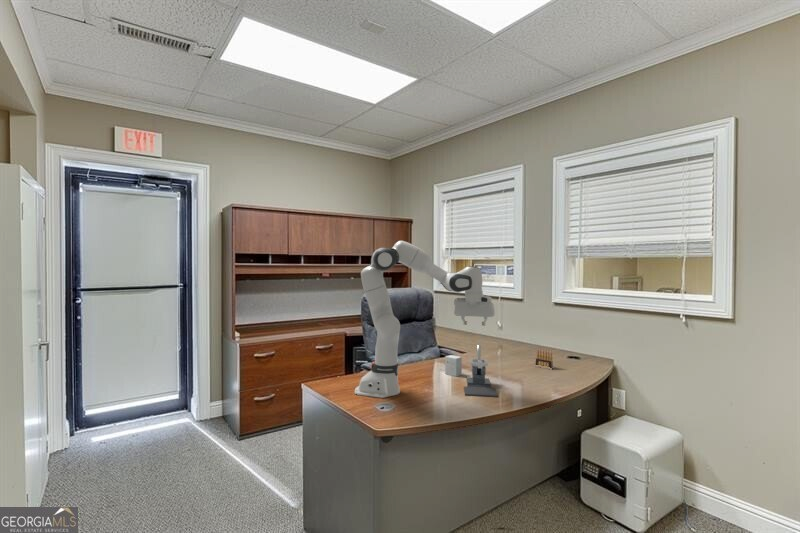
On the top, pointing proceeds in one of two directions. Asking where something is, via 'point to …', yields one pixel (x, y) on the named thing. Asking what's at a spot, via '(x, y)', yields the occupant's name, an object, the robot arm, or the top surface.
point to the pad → (480, 391)
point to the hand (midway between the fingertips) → (474, 325)
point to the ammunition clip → (544, 358)
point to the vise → (478, 374)
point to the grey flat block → (478, 362)
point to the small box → (453, 365)
